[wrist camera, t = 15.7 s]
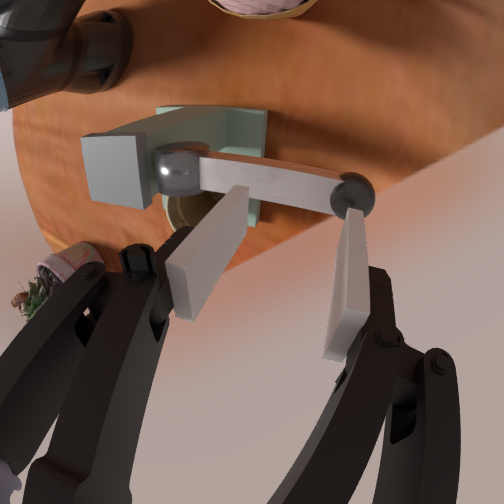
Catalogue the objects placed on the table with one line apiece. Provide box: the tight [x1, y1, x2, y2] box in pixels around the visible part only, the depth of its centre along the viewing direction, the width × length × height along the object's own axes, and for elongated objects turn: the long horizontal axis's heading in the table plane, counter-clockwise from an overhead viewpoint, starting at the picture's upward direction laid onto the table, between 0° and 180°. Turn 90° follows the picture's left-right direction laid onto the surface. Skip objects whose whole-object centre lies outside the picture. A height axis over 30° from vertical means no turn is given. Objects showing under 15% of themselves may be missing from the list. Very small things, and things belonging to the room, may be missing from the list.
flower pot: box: [165, 190, 250, 231], centre depth 32 cm, size 9×9×9 cm
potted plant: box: [11, 241, 104, 322], centre depth 51 cm, size 18×20×25 cm
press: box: [81, 105, 268, 227], centre depth 29 cm, size 15×17×19 cm
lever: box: [154, 141, 375, 220], centre depth 18 cm, size 16×3×4 cm, turn 86°
